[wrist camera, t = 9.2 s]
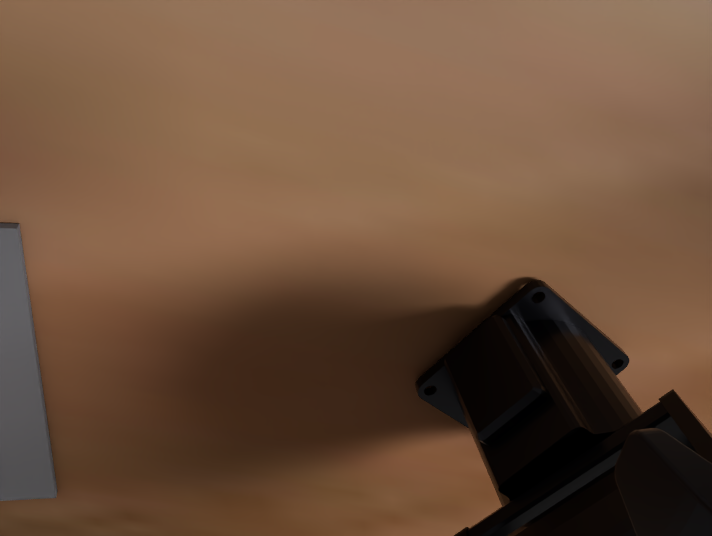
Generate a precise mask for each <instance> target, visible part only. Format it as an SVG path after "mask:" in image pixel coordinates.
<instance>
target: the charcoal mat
mask: <svg viewBox="0 0 712 536" xmlns="http://www.w3.org/2000/svg"><path fill="white" fill-rule="evenodd" d="M56 496H57V485H56V478H55V471H54V464H53V457H52V450H51V443H50V436H49V429H48V422H47V415H46V408H45V401H44V394H43V387H42V380H41V373H40V366H39V359H38V352H37V345H36V338H35V331H34V324H33V317H32V310H31V303H30V296H29V289H28V282H27V275H26V268H25V261H24V254H23V247H22V240H21V233H20V226H19V224H17V223H0V501H6V500H25V499H44V498H56Z"/></svg>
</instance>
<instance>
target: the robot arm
mask: <svg viewBox="0 0 712 536" xmlns="http://www.w3.org/2000/svg"><path fill="white" fill-rule="evenodd" d="M537 292H540V293H539V295H537V296H535V297H533V295H534V294H535V293H537ZM615 360H616V361H615ZM628 363H629V358H628V356H627V355H626V354H625V352H624V351H623V350H622V349H621V348H620V347H619V346H618V345H616V344H615V343H614V342H613V341H612V340H611V339H610V338H608V337H607V336H606V335H605V334H604V333H603V332H601V331H600V330H599V329H598V328H597V327H596V326H595V325H593V324H592V323H591V322H590V321H589V320H588V319H586V318H585V317H584V316H583V315H582V314H581V313H580V312H578V311H577V310H576V309H575V308H574V307H573V306H571V305H570V304H569V303H568V302H567V301H566V300H565V299H563V298H562V297H561V296H560V295H559V294H558V293H556V292H555V291H554V290H553V289H552V288H551V287H550V286H548V285H547V284H546V283H545V282H543V281H541V280H535V281H531V282H529V283H528V284H526V285H525V286H524V287H523V288H522V289H521V290H519V291H518V292H517V293H516V294H515V295H514V296H513V297H511V298H510V299H509V300H508V301H507V302H506V303H505V304H503V305H502V306H501V307H500V308H499V309H498V310H497V311H495V312H494V313H493V314H492V315H491V316H490V317H489V318H487V319H486V320H485V321H484V322H483V323H482V324H481V325H479V326H478V327H477V328H476V329H475V330H474V331H472V332H471V333H470V334H469V335H468V336H467V337H466V338H464V339H463V340H462V341H461V342H460V343H459V344H458V345H456V346H455V347H454V348H453V349H452V350H451V351H450V352H448V353H447V354H446V355H445V356H444V357H443V358H442V359H440V360H439V361H438V362H437V363H436V364H435V365H434V366H432V367H431V368H430V369H429V370H428V371H427V372H426V373H424V374H423V375H422V376H421V377H420V378H419V379H418V380H417V381H416V384H415V386H416V390H417V393H418V396H419V397H420V398H421V399H423V400H424V401H426V402H428V403H429V404H431V405H432V406H434V407H436V408H437V409H439V410H440V411H442V412H444V413H445V414H447V415H448V416H450V417H452V418H453V419H455V420H456V421H458V422H460V423H461V424H463V425H464V426H466V427H468V428H469V429H470V431H471V434H472V436H473V438H474V441H475V443H476V445H477V448H478V450H479V452H480V455H481V457H482V459H483V462H484V464H485V467H486V469H487V471H488V474H489V476H490V478H491V481H492V483H493V485H494V488H495V490H496V492H497V495H498V497H499V500H500V502H501V504H502V507H501V508H499V509H498V510H496V511H495V512H493V513H492V514H490V515H489V516H487V517H486V518H484V519H483V520H481V521H480V522H478V523H477V524H475V525H474V526H472V527H471V528H468V527H466V528H464V529H463V530H461V531H460V532H458V533H457V534H455V535H454V536H712V434H711V433H710V432H709V431H708V430H707V428H706V427H705V426H704V425H703V424H702V423H701V421H700V420H699V419H698V418H697V417H696V416H695V414H694V413H693V412H692V411H691V410H690V409H689V407H688V406H687V405H686V404H685V403H684V401H683V400H682V399H681V398H680V397H679V396H678V394H677V393H676V392H675V391H674V390H671V391H670V392H668V393H667V394H665V395H664V396H662V397H661V398H659V400H660V402H659V403H657V404H656V405H654V406H653V407H651V408H650V409H648V410H647V411H645V412H644V413H643V412H642V411H641V409H640V408H639V407H638V405H637V404H636V403H635V401H634V400H633V398H632V397H631V396H630V394H629V393H628V392H627V390H626V389H625V387H624V386H623V385H622V383H621V382H620V381H619V379H618V378H617V376H616V375H617V374H619V373H620V372H621V371H623V370H624V369H625V368H626V367H627V365H628ZM428 386H432V387H430V388H426V387H428Z"/></svg>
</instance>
